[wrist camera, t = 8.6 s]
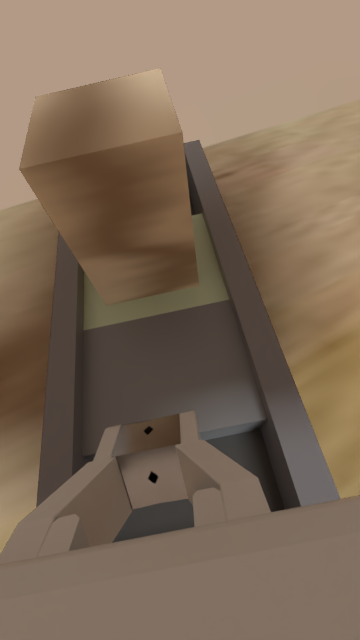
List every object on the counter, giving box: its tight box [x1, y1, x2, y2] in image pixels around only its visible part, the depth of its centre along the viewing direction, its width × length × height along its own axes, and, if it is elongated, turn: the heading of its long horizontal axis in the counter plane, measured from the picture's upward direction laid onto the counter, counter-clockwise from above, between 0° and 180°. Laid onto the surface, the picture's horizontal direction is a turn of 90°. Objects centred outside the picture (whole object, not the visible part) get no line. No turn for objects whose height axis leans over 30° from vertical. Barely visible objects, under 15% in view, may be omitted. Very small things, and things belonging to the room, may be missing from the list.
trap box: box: [36, 140, 340, 543], centre depth 18 cm, size 12×32×4 cm, turn 10°
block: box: [19, 69, 199, 306], centre depth 16 cm, size 6×6×9 cm
